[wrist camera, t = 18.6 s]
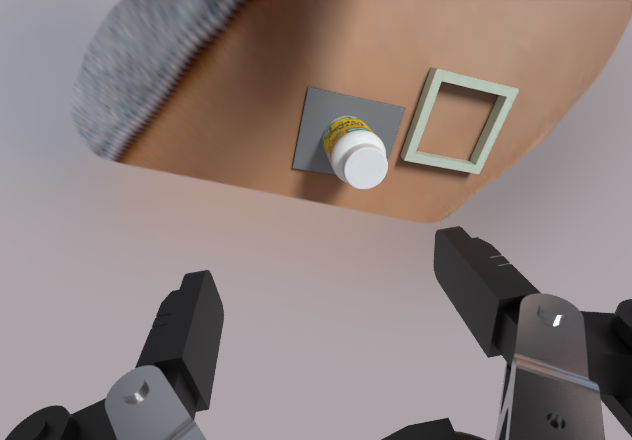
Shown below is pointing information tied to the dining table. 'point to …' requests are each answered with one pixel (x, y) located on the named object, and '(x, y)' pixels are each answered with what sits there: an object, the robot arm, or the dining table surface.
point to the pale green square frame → (488, 132)
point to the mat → (330, 107)
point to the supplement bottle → (355, 152)
